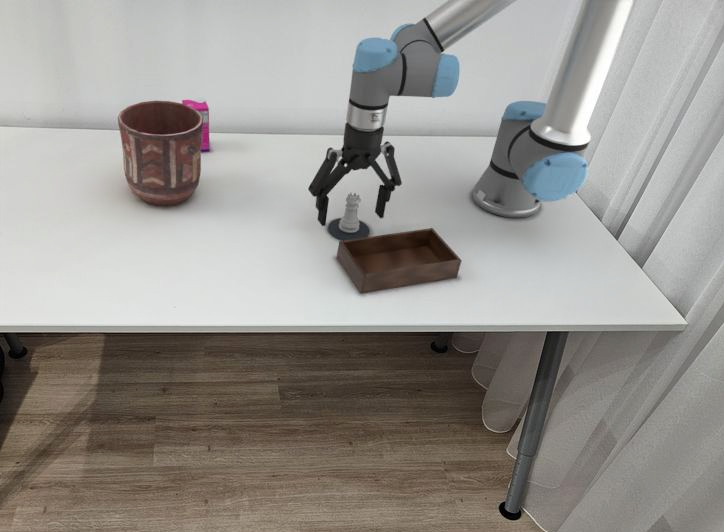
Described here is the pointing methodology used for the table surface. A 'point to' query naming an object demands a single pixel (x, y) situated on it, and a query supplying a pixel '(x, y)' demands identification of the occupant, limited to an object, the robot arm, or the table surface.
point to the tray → (397, 260)
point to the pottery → (161, 150)
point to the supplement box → (204, 111)
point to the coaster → (341, 235)
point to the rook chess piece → (350, 215)
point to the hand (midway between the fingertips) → (350, 218)
